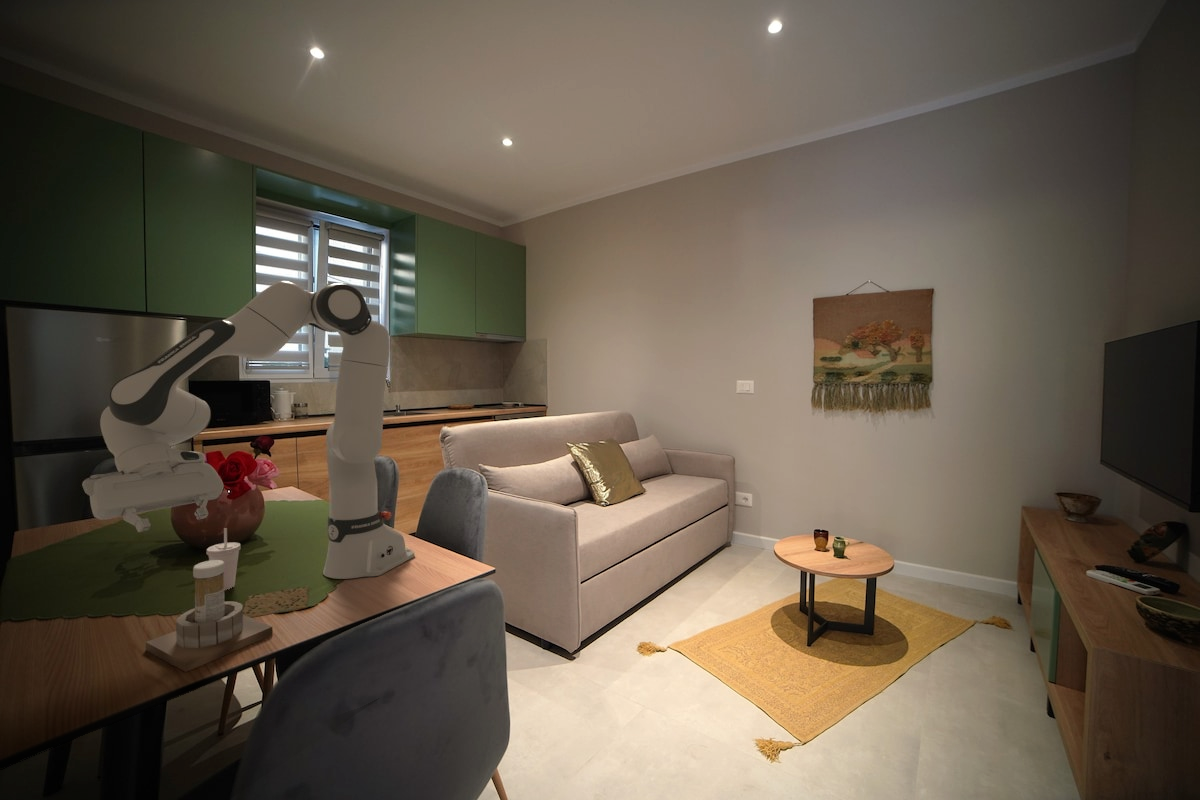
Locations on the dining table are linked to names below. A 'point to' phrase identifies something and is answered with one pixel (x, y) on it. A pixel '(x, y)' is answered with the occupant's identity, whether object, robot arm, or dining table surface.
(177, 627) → the collar stand
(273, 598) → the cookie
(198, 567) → the sprinkles bottle
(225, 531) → the smoothie
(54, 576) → the dining table surface
